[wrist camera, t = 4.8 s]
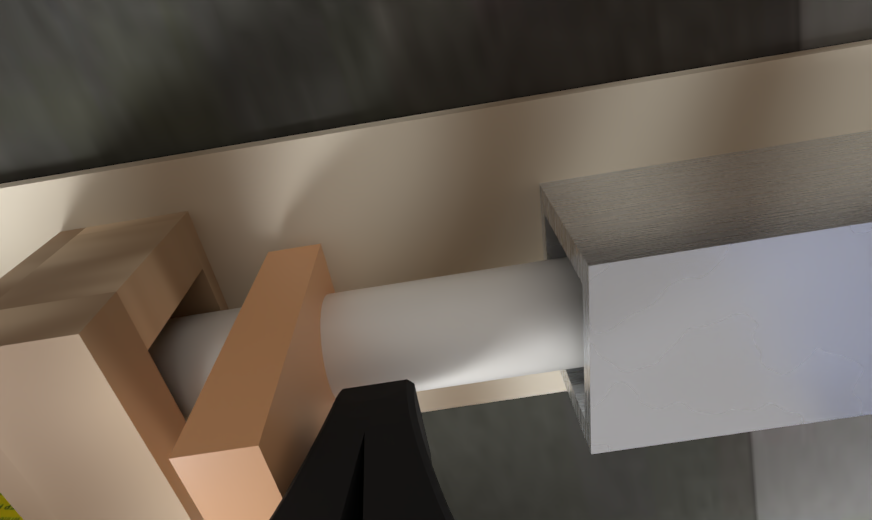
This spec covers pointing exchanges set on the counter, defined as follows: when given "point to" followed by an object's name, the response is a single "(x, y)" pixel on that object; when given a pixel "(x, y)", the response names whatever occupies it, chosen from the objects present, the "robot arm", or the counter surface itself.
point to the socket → (97, 371)
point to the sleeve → (720, 291)
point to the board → (446, 178)
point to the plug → (343, 360)
